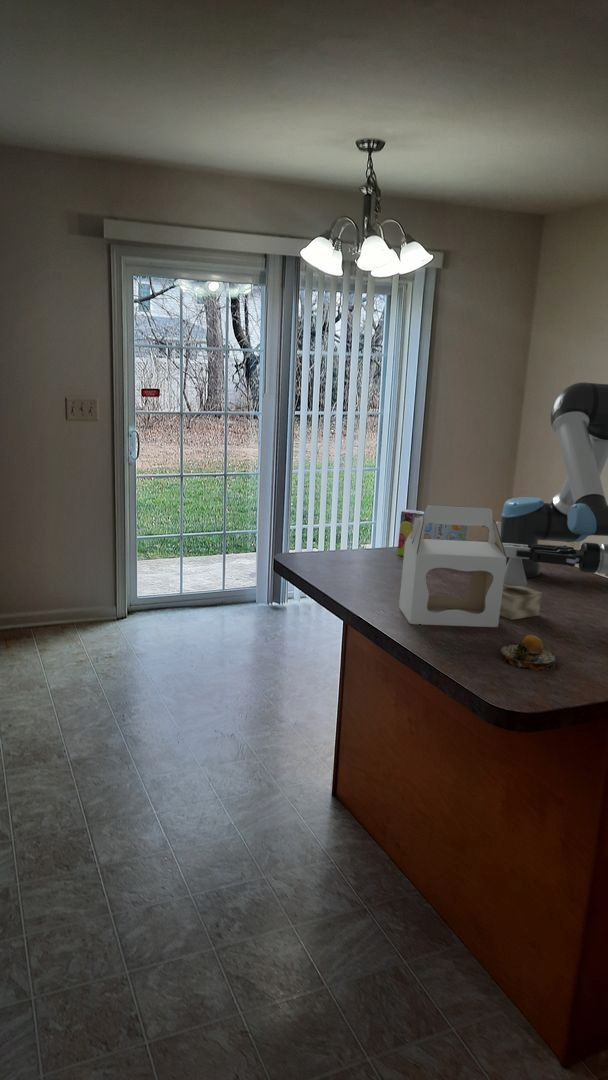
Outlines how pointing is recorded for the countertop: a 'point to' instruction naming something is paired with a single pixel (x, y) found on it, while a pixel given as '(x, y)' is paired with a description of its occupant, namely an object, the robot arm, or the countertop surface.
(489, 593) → the gable box
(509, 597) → the beech box
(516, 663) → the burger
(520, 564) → the flask
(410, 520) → the snack box
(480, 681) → the countertop surface
